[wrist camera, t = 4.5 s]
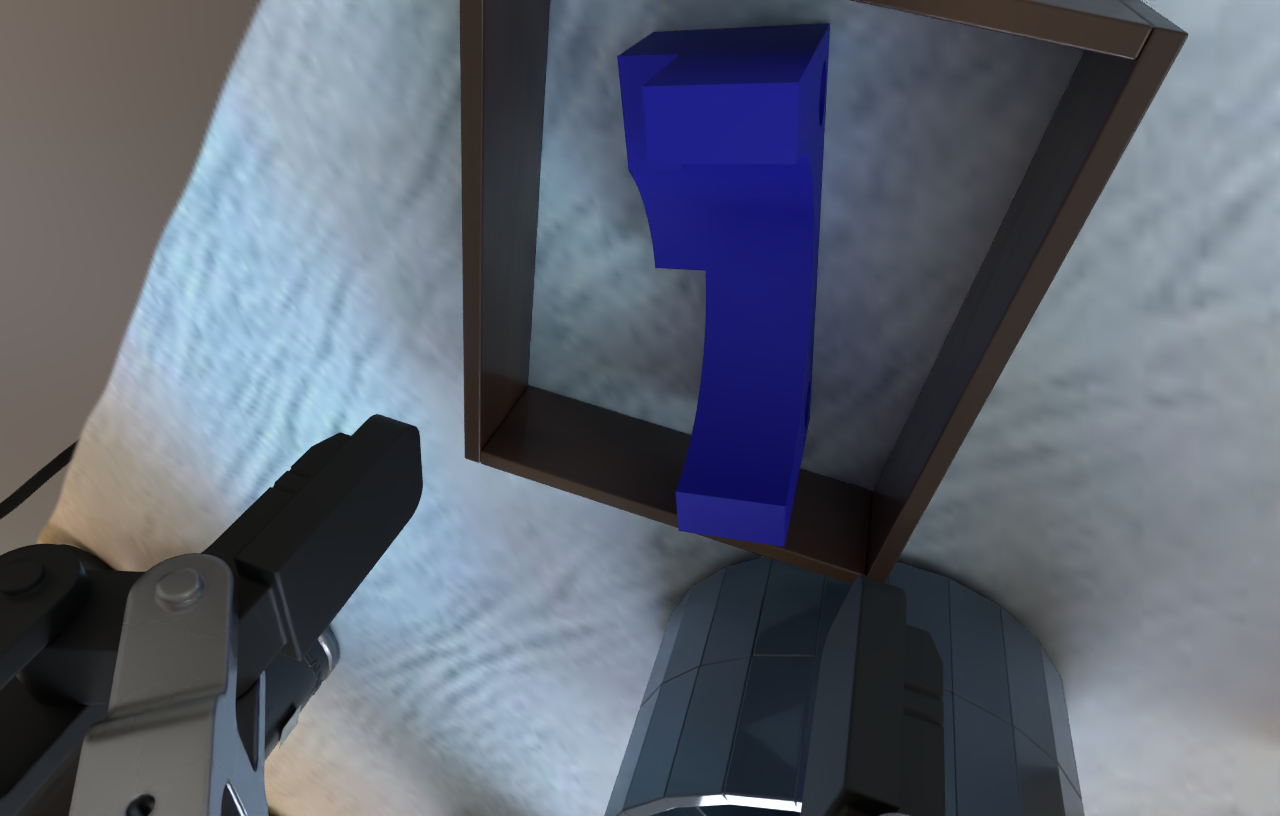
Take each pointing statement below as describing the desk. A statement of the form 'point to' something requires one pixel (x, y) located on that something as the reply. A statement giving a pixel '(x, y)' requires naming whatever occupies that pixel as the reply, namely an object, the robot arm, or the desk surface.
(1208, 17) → the desk surface
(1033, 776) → the bucket
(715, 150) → the blue long angular piece
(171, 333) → the desk surface
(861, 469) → the desk surface
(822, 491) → the box
